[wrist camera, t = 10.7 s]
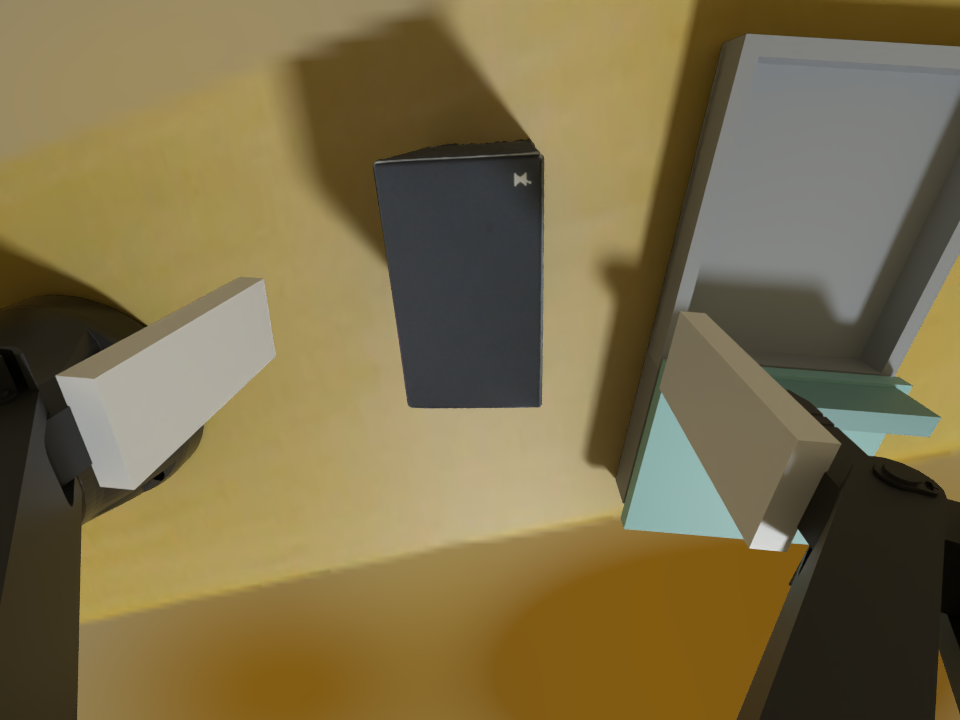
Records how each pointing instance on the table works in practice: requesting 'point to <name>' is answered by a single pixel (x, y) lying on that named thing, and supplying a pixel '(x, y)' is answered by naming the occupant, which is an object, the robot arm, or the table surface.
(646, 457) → the lid
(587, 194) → the table surface
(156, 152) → the table surface
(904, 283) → the tray
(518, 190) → the small box
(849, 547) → the robot arm
